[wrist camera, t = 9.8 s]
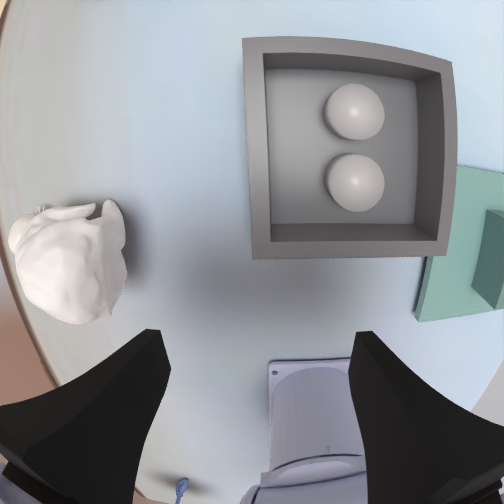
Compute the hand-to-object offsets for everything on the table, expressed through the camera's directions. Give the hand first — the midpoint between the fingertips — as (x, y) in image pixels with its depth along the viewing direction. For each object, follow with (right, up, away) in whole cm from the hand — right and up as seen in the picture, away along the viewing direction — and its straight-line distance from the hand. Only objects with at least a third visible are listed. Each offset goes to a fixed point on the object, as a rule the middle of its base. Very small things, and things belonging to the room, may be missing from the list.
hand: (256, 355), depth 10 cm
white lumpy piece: (-13, +5, +10) cm, 17 cm away
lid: (+18, +4, +7) cm, 19 cm away
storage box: (+5, +10, +6) cm, 13 cm away
